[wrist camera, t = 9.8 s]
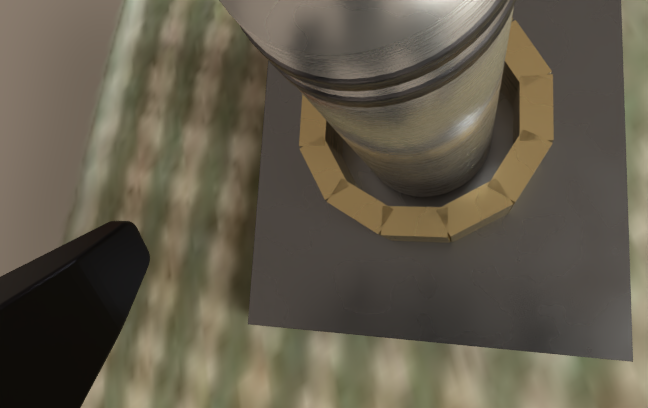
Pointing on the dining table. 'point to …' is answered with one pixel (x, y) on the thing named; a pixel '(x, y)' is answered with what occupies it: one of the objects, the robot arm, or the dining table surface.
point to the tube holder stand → (465, 211)
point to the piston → (393, 78)
